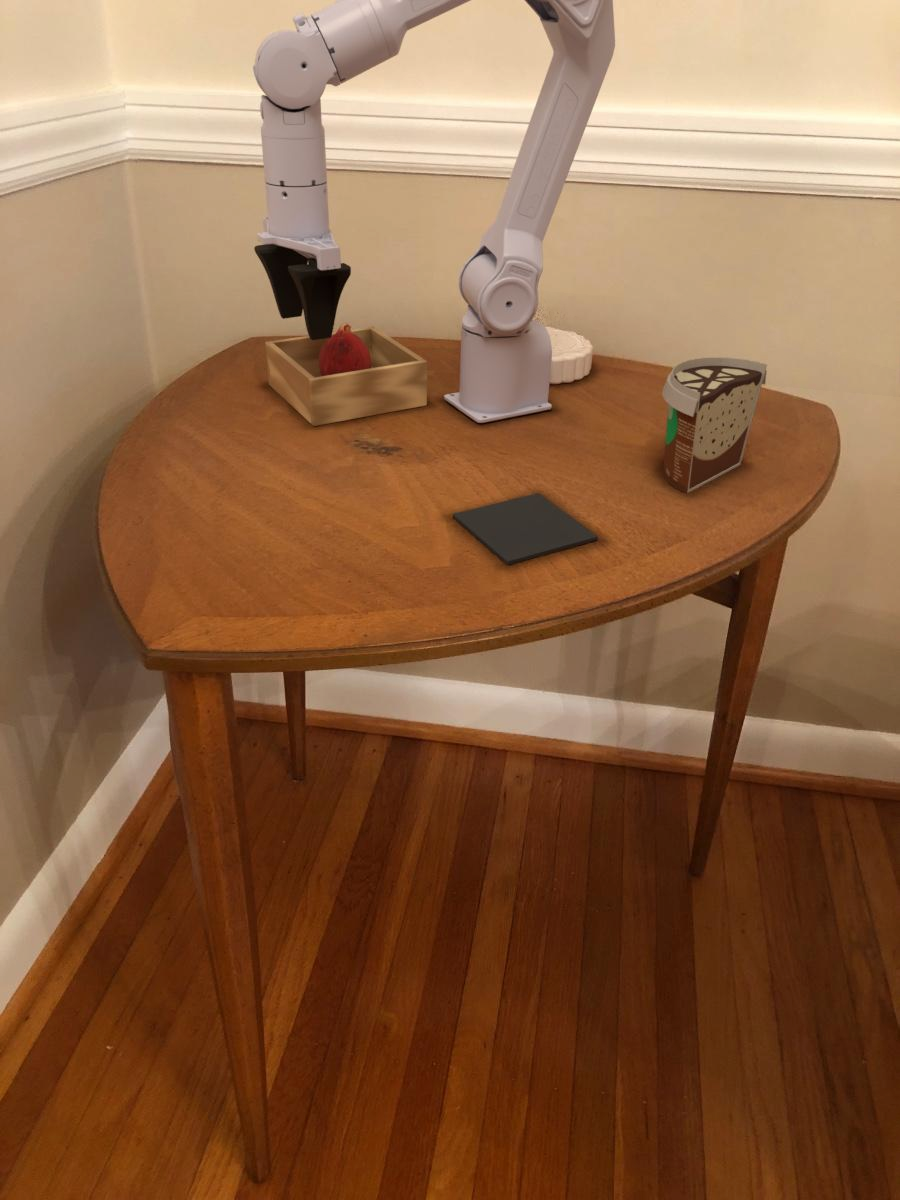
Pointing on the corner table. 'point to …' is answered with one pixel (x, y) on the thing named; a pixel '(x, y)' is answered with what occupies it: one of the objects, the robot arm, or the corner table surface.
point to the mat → (524, 528)
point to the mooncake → (569, 356)
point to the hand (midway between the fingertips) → (305, 327)
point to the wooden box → (347, 379)
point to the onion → (344, 353)
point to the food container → (708, 417)
